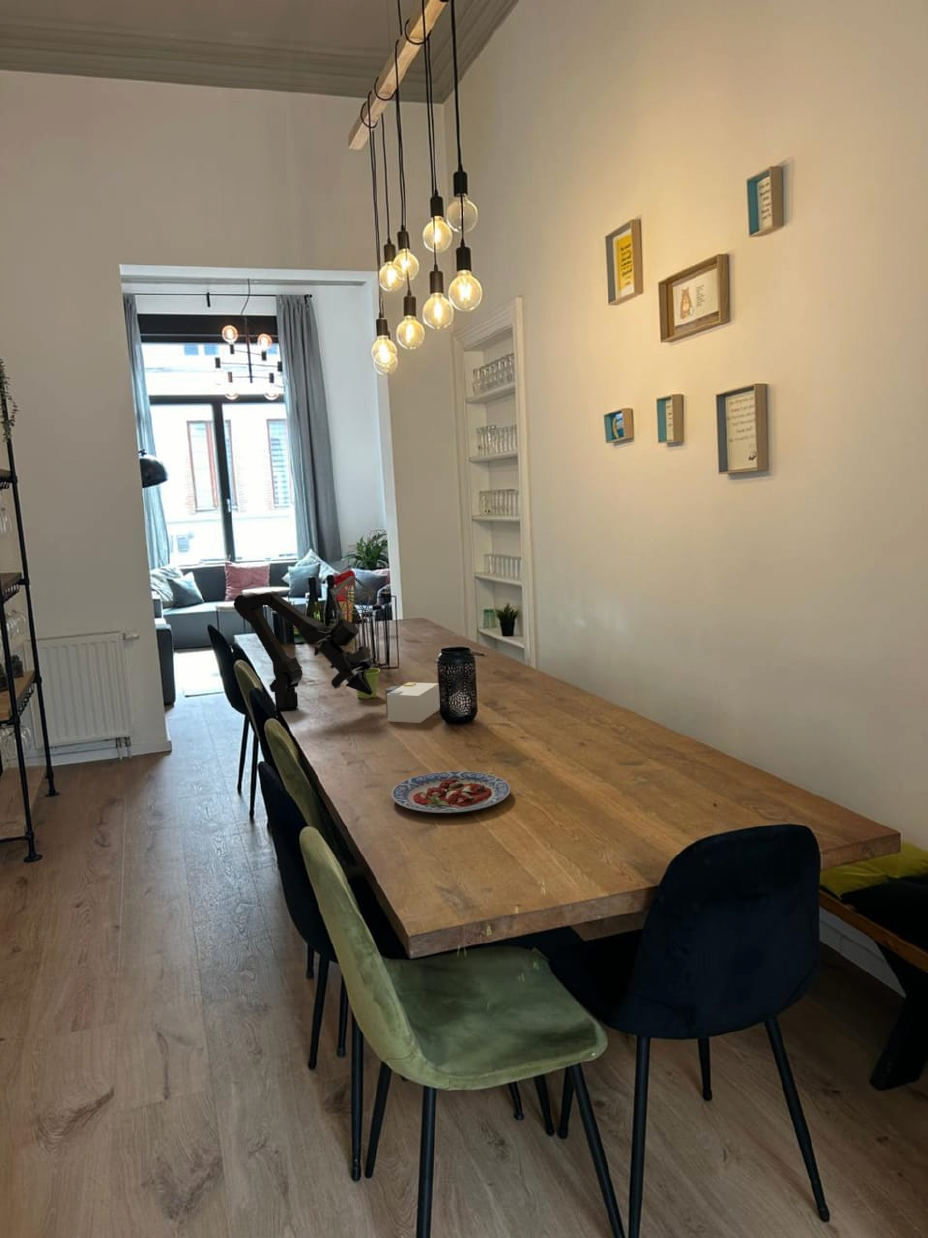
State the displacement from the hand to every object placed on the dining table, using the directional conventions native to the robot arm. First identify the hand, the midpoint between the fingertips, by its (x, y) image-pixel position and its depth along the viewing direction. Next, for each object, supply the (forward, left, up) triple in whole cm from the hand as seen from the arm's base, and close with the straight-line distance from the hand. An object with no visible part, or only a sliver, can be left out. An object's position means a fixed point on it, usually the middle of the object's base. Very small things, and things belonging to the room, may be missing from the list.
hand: (371, 694), depth 268 cm
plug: (+9, -5, -5) cm, 12 cm away
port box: (+12, -7, -6) cm, 15 cm away
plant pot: (0, +22, -6) cm, 23 cm away
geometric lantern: (0, +71, -6) cm, 71 cm away
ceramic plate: (+10, -80, -6) cm, 81 cm away
